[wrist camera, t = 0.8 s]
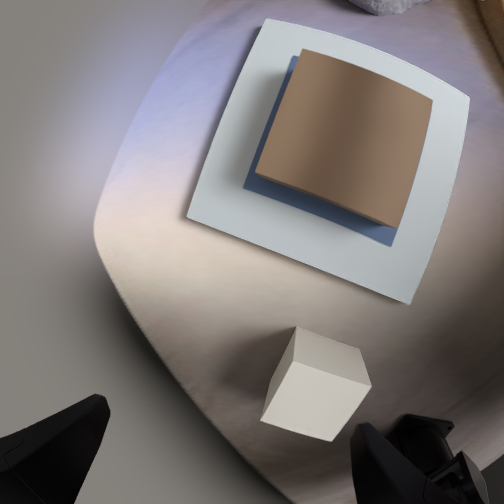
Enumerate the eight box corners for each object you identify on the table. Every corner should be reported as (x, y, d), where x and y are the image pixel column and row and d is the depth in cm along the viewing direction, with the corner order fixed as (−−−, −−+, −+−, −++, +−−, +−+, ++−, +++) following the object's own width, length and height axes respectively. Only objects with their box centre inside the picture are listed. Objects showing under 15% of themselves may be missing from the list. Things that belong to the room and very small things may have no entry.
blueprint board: (464, 101, 15) (489, 84, 11) (405, 300, 18) (425, 321, 14) (268, 25, 16) (259, -6, 13) (191, 216, 20) (165, 218, 16)
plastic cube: (359, 348, 19) (371, 386, 14) (328, 399, 20) (331, 441, 15) (296, 326, 19) (292, 360, 15) (270, 379, 20) (260, 420, 16)
